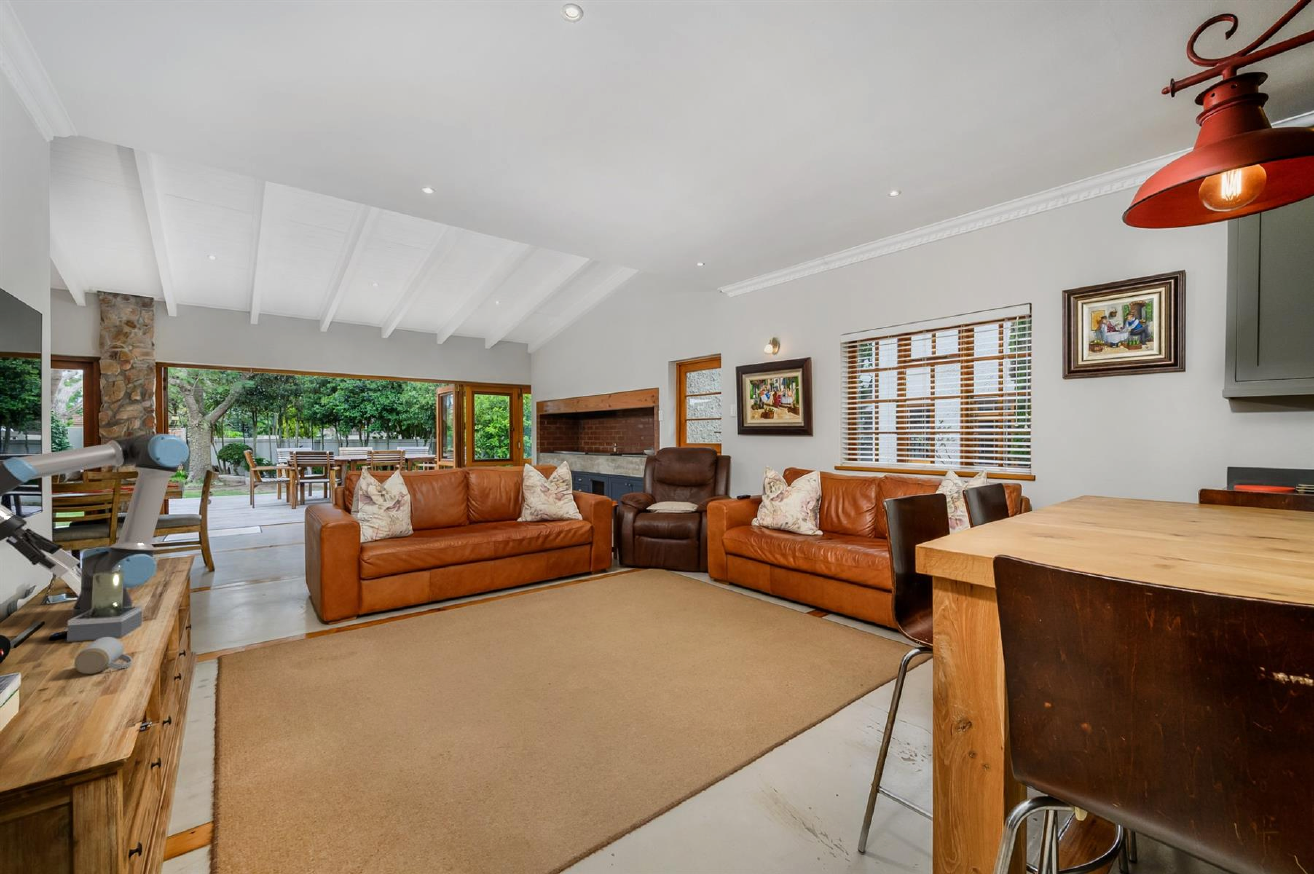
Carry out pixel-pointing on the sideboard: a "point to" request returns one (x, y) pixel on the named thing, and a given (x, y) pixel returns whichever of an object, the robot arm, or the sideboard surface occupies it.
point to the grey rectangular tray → (104, 625)
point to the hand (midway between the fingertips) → (70, 569)
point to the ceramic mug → (101, 656)
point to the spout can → (107, 593)
